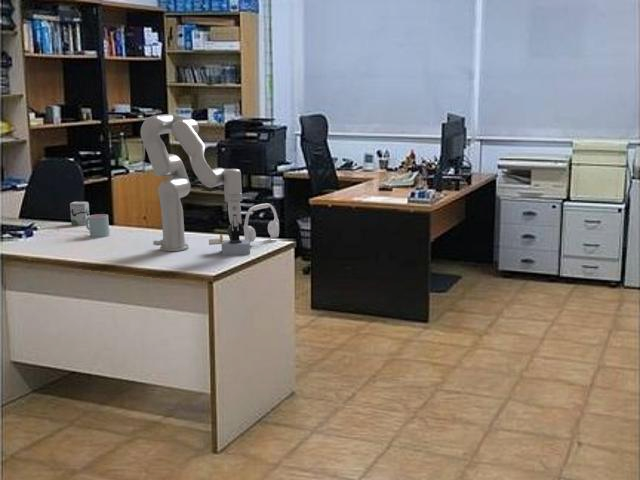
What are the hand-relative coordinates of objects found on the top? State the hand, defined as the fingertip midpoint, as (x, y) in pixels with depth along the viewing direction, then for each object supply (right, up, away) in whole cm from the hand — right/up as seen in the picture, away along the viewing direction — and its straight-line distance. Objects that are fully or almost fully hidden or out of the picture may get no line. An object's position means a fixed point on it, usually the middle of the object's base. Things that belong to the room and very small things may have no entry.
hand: (235, 238), depth 362 cm
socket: (0, -6, +1) cm, 6 cm away
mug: (-73, +1, +46) cm, 86 cm away
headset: (+10, -2, +22) cm, 24 cm away
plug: (0, -3, +1) cm, 3 cm away
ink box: (-90, +7, +76) cm, 118 cm away
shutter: (-9, -2, -1) cm, 9 cm away
